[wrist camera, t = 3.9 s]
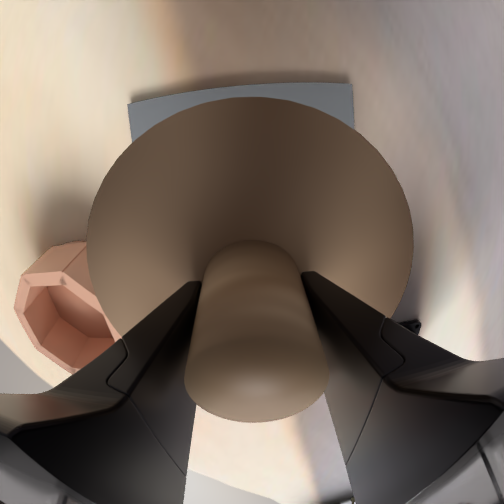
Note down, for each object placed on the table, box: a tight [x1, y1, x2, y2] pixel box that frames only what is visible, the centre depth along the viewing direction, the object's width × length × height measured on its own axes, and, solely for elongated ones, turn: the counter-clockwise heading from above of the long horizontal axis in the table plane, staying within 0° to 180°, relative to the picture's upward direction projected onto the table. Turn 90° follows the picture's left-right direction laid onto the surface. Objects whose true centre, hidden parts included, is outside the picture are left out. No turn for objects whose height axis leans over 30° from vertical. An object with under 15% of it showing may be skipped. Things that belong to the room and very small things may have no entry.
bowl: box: [14, 241, 122, 375], centre depth 20 cm, size 10×10×5 cm
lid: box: [86, 97, 414, 423], centre depth 8 cm, size 11×11×5 cm
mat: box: [127, 83, 354, 143], centre depth 19 cm, size 14×14×1 cm
